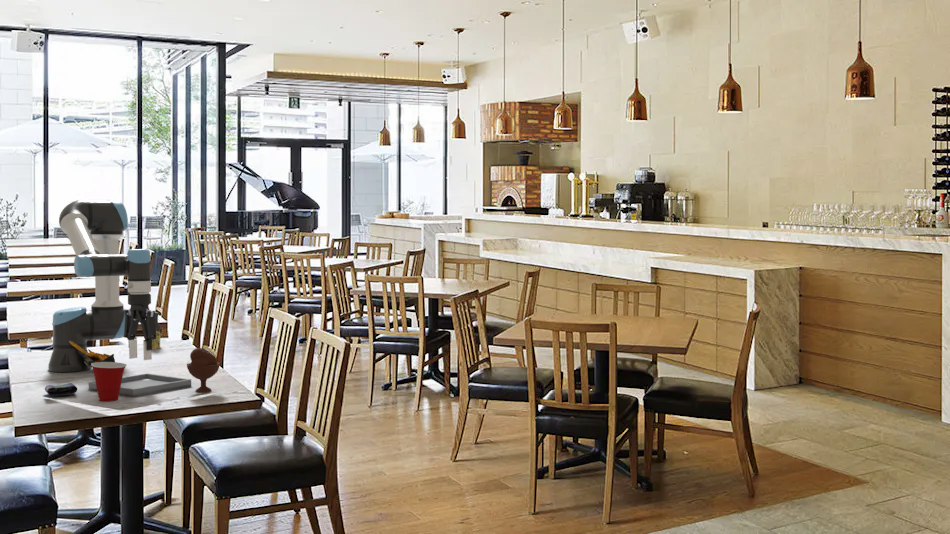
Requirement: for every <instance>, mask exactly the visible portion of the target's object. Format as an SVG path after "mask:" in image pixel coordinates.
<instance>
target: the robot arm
mask: <svg viewBox="0 0 950 534" xmlns="http://www.w3.org/2000/svg"><path fill="white" fill-rule="evenodd" d="M128 218H129V217H128V214H127V209H126V207H125V205H124V204H123V202H121V200H120V201H119V200H111V199H105V200H104V199H103V200H102V199H100V200H99V199H94V200H93V199H78V200H77V199H76V200H75V201H71V202H70V203H69V204H67V205H66V206H65V207H64V208H63V209H62V210H61V212H60V214H59V218H58V225H59V227H60V229H61V231H62V232H63V233H64V234H66V236H67V237H68V240H69V242H70V245H71V247H72V249H73V251H74V253H75V257H74V260H73V263H74V264H73V268H74V273H75V275H76V276H78V277H82V278H83V277H85V278H91V277H94V279H95V280H94V281H95V284H94V285H95V288H94V291H95V292H94V293H95V294H94V295H95V298H94V299H95V301H94V302H93V303H92V304H91V306H90V307H91V308H90V310H89V309H88V310H87V308H86V307H85V306H78V307H69V308H64V309H60V310H57V311H55V312H54V313H53V315H52V323H51V324H52V348H53V349H52V353H51V356H50V359H49V363H48V367H47V368H48V369H47V370H48V371H49V372H53V373H71V372H72V373H73V372H81V371H82V372H83V371H87V370H88V371H89V370H91V369H93V368H92V367H90V366H89V365H87V364H86V363H84V361H85V359H84V358H83V352H81V351H80V350H78V349H77V348H76V347H74V346H72V345H71V344H70V342H69V341H70V340H72V341H74V343H76V344H77V345H78V346H80V347H81V348H82V349H84V350H85V351H86V352H88V353H89V350H88V347H87V346H88V345H87V344H88V343H87V342H88V341H100V340H102V341H103V340H116V339H122V338H123V337H124V338H126V339H127V340H128V351H129V352H128V357H129V358H128V359H137V358H138V337H137V331H138V328H139V324H140V326H141V329H142V333H143V337H144V339H143V340H142V341H143V344H142V345H143V361H150V360H152V359H153V358H152V356H153V354H152V353H153V352H152V350H153V349H152V341H153V340H154V339H156V338H157V337H156V326H155V312H156V311H155V310H150V307H149V305H151V304H152V295H151V292H152V284H151V283H152V281H151V278H152V277H151V276H152V275H151V273H152V272H151V260H152V259H151V251H150V250H149V249H147V248H145V249H144V248H138V249H137V248H134V249H133V248H129V249H128V250H127V253H126V254H120V252H119V251H120V249H119V245H120V243H119V241H120V238H121V237H123V235H124V233H123V232H124V231H126V230H127V229H128V224H129V221H128V220H129V219H128ZM122 276H125V277H126V276H127V292H128V293H129V294H128V295H127V304H128V305H129V306H130V308H129V309H127V308H125V307H124V303H123V302H121V301H120V300H121V299H120V277H122ZM152 335H153V336H152Z"/></svg>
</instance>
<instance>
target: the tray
mask: <svg viewBox="0 0 950 534" xmlns="http://www.w3.org/2000/svg"><path fill="white" fill-rule="evenodd" d="M144 379H145V380H144ZM190 386H191V387H192V378H191V379H190V378H183V377H176V376H169V375H168V376H167V375H161V374H154V373H148V372H147V373H141V374H136V375H135V374H134V375H129V376H124V377H123V376H122V382H121V388H120V392H119V396H124V397H129V398H130V397H131V398H134V397H135V398H136V397H140V396H142V397H143V396H148V395H152V394H159V393H163V392H168V391H174V390H179V389H185V387H186V388H190ZM88 391H92V392H97V388H96V382H95V381H92V382H88Z"/></svg>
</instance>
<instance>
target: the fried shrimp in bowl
mask: <svg viewBox="0 0 950 534" xmlns="http://www.w3.org/2000/svg"><path fill="white" fill-rule="evenodd" d="M69 342H70V344H71V345H72V346H74V347H76V348H77V349H78V350H80V351H81V352H83V358H84V359H85V361H84V363H86V364H87V365H89V366H90V367H92V366H91V364H92V363H96V362H116V359H115V354H114V353H112V354H107V353H103V354H102V353H98V352H94V351H92V350H90V349H88V348H87V351H88V352H86V351H85V350H84V349H82V348H81V347H80V346H78V345H77V344H76V343H74V341H72V340H70V341H69Z"/></svg>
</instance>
